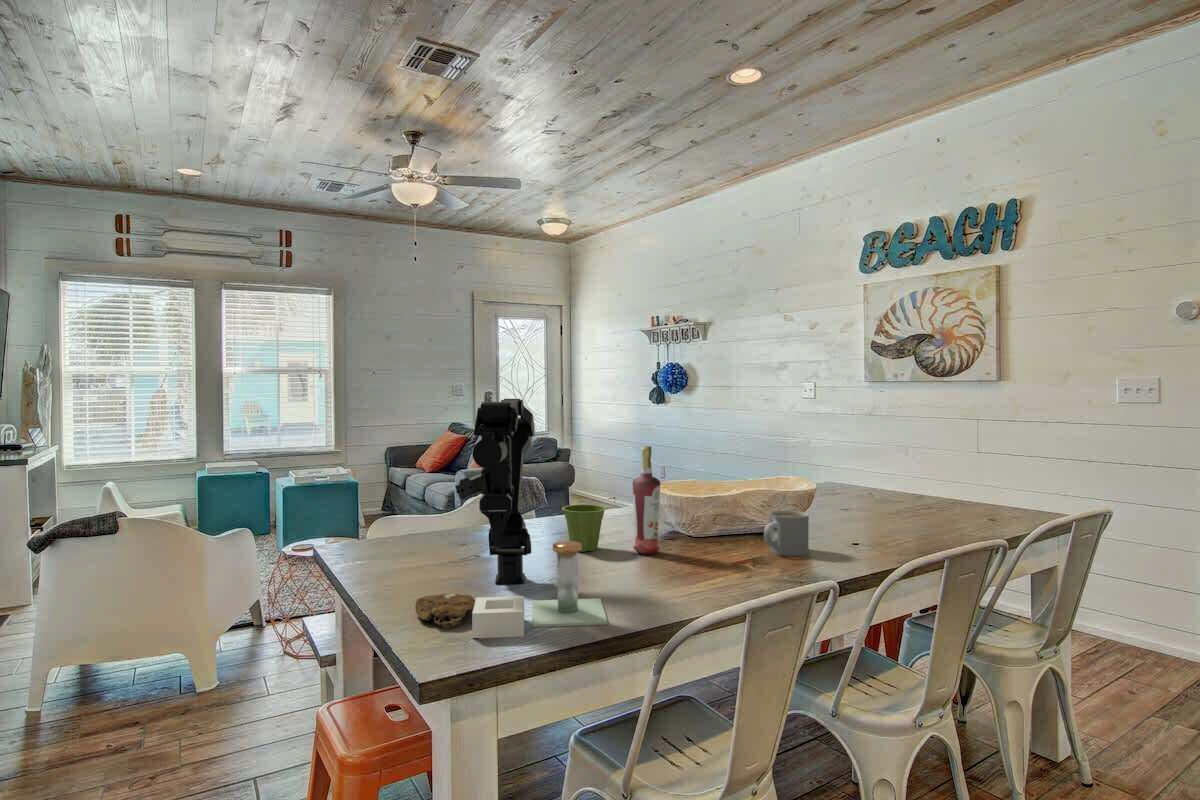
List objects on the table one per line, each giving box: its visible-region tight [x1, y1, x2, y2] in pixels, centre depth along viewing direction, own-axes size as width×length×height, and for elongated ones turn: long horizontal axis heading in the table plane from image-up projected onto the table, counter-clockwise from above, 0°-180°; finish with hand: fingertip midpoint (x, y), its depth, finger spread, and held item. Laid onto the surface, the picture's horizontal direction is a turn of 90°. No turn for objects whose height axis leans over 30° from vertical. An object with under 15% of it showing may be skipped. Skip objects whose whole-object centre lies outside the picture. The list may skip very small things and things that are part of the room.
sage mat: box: [531, 597, 609, 628], centre depth 135 cm, size 14×14×1 cm
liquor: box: [632, 446, 661, 556], centre depth 182 cm, size 7×7×28 cm
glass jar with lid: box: [552, 540, 582, 614], centre depth 135 cm, size 6×6×13 cm
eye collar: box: [471, 595, 525, 639], centre depth 127 cm, size 9×9×4 cm
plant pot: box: [561, 503, 607, 553], centre depth 187 cm, size 12×12×11 cm
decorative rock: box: [414, 593, 476, 629], centre depth 134 cm, size 11×4×15 cm
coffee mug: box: [763, 509, 810, 557], centre depth 183 cm, size 13×10×10 cm
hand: (497, 537), depth 144 cm, fingers open, 9 cm apart
